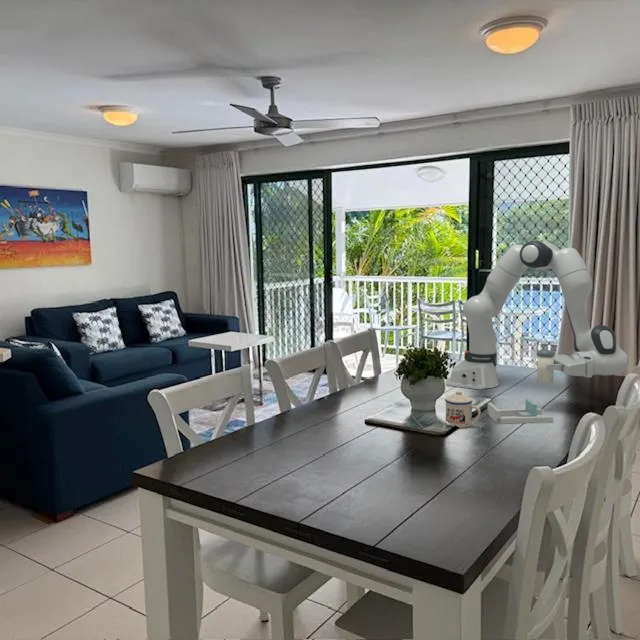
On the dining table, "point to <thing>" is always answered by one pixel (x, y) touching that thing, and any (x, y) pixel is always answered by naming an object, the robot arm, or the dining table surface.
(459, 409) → the teacup with lid
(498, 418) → the lane
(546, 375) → the jar
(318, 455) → the dining table surface
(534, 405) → the pusher
